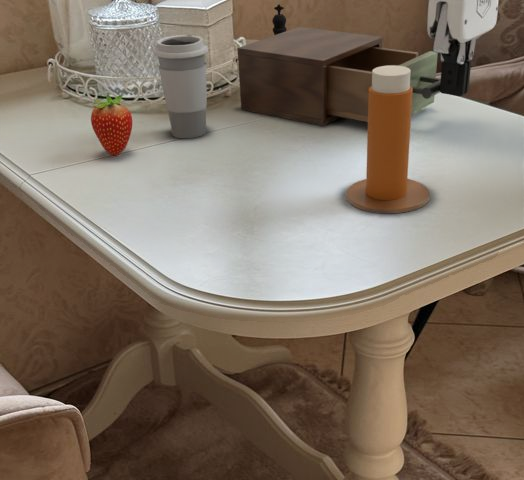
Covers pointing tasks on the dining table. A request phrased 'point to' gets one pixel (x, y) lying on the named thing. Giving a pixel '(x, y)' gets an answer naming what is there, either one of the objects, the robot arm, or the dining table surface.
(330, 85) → the drawer
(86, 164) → the dining table surface
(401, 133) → the pill bottle
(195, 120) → the cup
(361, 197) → the coaster
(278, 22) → the chess piece
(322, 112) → the cabinet
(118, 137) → the fruit
